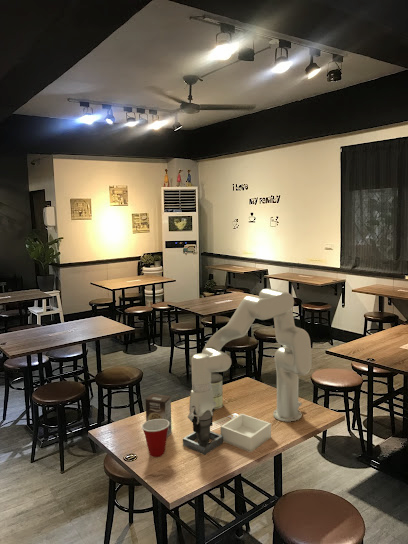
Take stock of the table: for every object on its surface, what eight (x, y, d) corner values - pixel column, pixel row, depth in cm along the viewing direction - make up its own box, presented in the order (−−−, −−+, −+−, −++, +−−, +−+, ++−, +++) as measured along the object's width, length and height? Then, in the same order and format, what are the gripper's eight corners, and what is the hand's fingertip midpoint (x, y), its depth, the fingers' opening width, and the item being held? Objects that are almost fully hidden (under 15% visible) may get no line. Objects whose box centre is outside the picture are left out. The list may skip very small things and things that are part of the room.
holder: (201, 434, 183) (201, 427, 182) (223, 442, 175) (223, 435, 175) (183, 445, 174) (182, 438, 174) (204, 455, 167) (204, 447, 166)
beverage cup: (210, 449, 170) (209, 400, 168) (192, 448, 172) (190, 399, 169) (214, 440, 177) (212, 393, 175) (196, 438, 179) (195, 392, 176)
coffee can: (198, 408, 207) (197, 379, 205) (205, 399, 217) (205, 372, 215) (219, 411, 204) (218, 382, 202) (225, 402, 213) (225, 374, 211)
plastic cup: (159, 442, 177) (158, 414, 175) (176, 452, 169) (175, 423, 167) (136, 453, 169) (135, 423, 168) (153, 464, 162) (152, 433, 160)
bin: (241, 426, 188) (241, 413, 187) (271, 437, 179) (271, 423, 178) (220, 440, 177) (220, 426, 176) (250, 452, 168) (250, 437, 167)
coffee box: (146, 435, 182) (144, 399, 180) (153, 428, 188) (151, 392, 186) (166, 439, 179) (164, 401, 177) (172, 431, 185) (171, 395, 183)
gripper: (208, 376, 180) (209, 417, 183) (179, 390, 167) (181, 434, 170) (222, 381, 175) (223, 422, 178) (194, 395, 162) (195, 440, 165)
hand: (202, 428), depth 174 cm, fingers closed on beverage cup, 6 cm apart
